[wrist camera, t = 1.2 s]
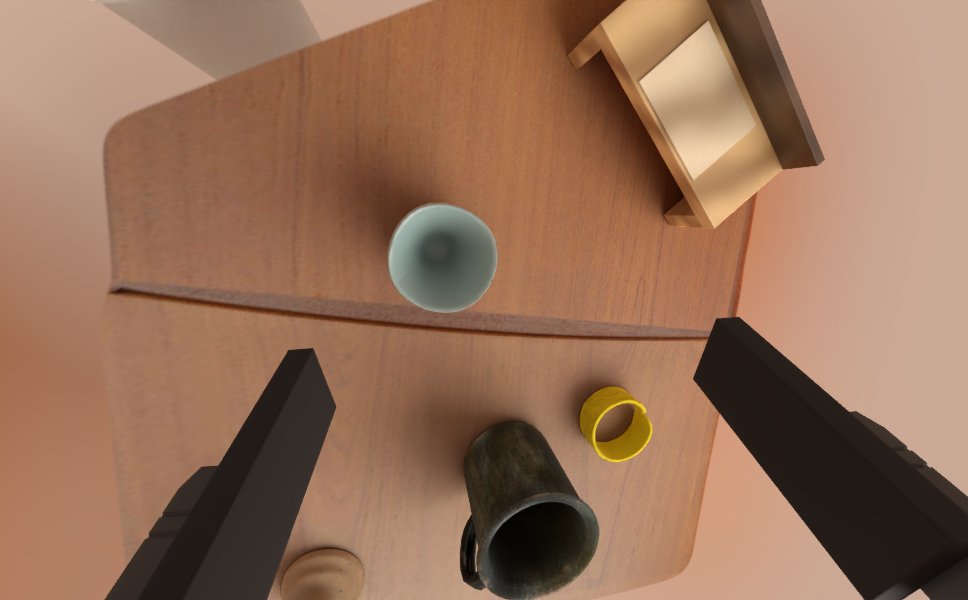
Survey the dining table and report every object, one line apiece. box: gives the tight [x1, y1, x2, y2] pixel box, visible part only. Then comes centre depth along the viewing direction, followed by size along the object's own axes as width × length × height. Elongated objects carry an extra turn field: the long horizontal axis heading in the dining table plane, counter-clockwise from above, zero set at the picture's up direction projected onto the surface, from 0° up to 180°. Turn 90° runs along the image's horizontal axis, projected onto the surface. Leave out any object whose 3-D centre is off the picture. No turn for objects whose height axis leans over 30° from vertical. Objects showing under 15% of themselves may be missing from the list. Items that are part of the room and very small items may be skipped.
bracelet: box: [580, 387, 652, 462], centre depth 41 cm, size 7×8×3 cm
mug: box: [460, 422, 599, 600], centre depth 36 cm, size 11×15×12 cm
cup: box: [387, 202, 498, 313], centre depth 29 cm, size 8×8×10 cm
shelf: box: [568, 0, 824, 228], centre depth 31 cm, size 20×9×9 cm, turn 40°
